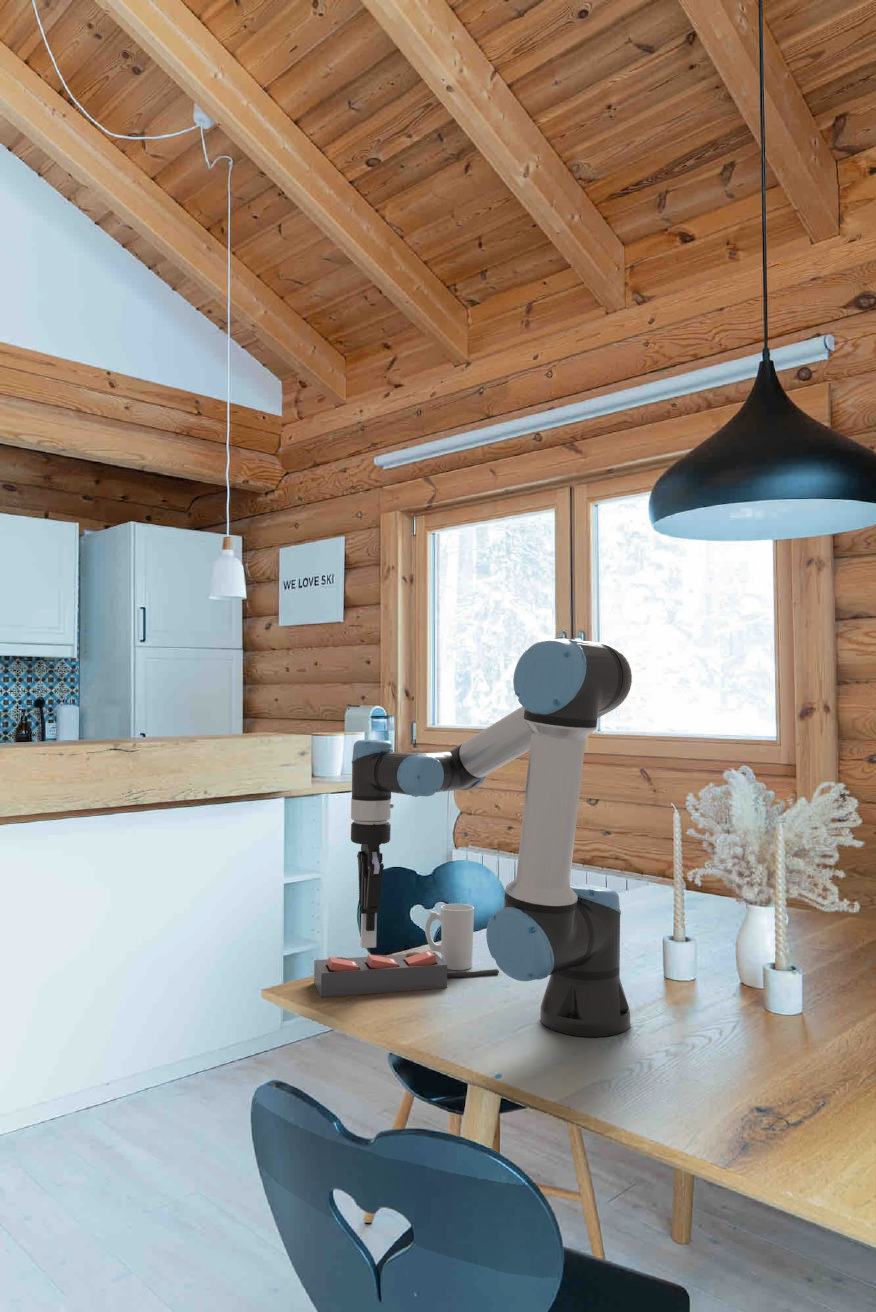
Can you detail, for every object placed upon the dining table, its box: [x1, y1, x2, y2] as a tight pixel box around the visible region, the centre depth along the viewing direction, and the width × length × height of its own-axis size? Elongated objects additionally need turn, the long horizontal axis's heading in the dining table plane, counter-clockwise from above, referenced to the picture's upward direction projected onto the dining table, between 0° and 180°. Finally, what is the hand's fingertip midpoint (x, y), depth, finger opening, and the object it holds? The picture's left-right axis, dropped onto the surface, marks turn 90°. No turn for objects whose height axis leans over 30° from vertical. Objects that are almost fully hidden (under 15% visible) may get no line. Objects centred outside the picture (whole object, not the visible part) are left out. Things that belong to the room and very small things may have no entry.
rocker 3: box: [404, 949, 436, 966], centre depth 182 cm, size 4×5×2 cm
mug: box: [424, 903, 475, 971], centre depth 195 cm, size 10×7×12 cm, turn 80°
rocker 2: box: [366, 953, 398, 968], centre depth 180 cm, size 4×5×2 cm
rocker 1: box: [327, 956, 359, 971], centre depth 178 cm, size 4×5×2 cm
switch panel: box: [313, 951, 500, 998], centre depth 183 cm, size 9×36×5 cm, turn 106°
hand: (368, 946), depth 180 cm, fingers closed
